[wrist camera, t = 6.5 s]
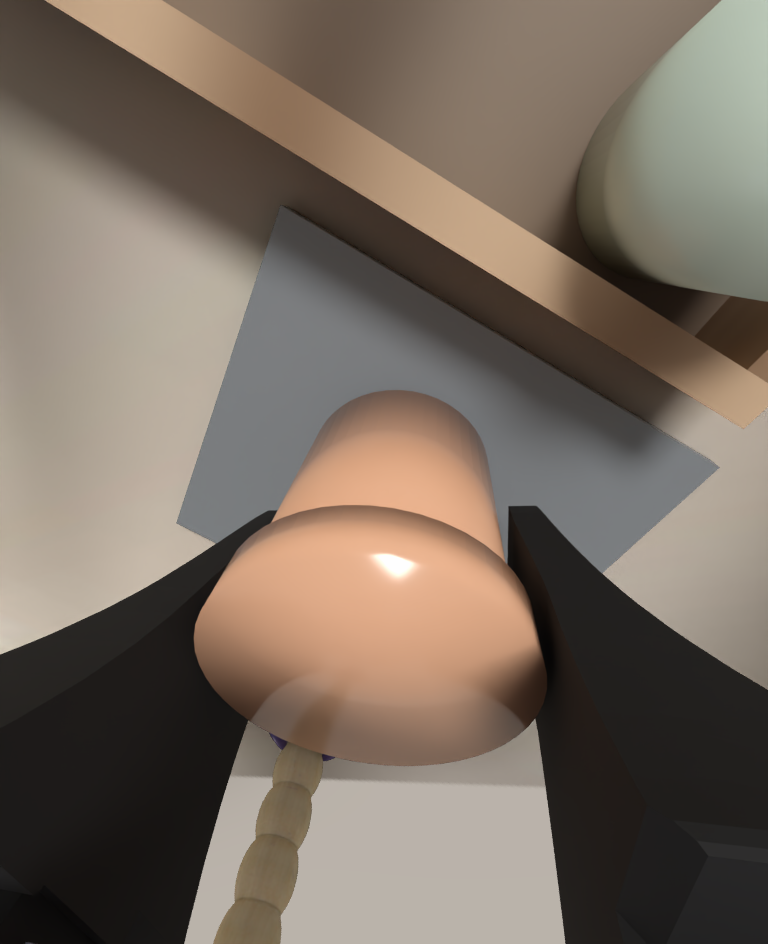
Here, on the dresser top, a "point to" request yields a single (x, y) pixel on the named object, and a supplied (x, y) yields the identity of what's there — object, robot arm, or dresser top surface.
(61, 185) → the dresser top surface
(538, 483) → the mat
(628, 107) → the pale green egg
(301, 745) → the terracotta pot
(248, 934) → the toy lamp
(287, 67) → the wooden tray
